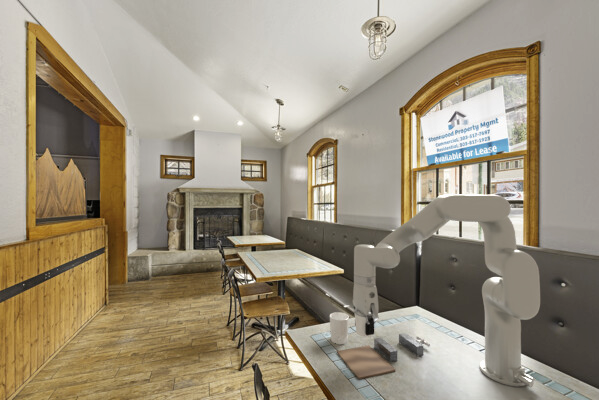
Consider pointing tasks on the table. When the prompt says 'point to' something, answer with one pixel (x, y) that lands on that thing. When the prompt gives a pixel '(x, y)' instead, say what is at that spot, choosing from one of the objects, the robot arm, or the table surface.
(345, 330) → the white cup
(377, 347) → the vise
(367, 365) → the serving board
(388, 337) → the table surface
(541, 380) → the table surface
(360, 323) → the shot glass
